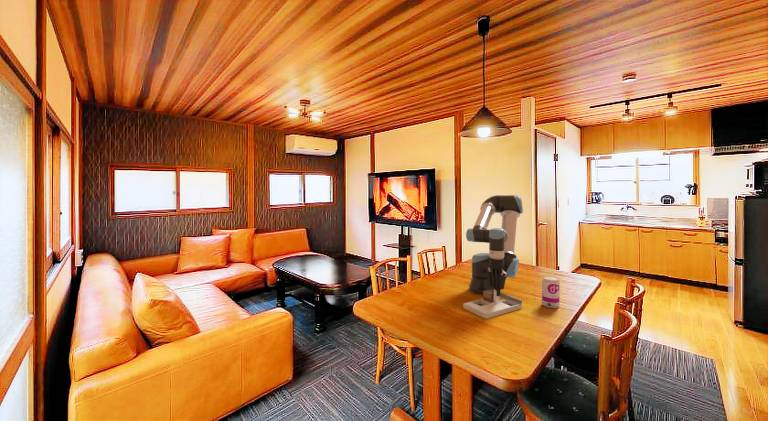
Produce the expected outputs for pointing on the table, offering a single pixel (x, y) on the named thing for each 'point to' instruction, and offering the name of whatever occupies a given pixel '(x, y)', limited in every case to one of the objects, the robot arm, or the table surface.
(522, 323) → the table surface
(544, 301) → the soda can
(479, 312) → the box
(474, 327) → the table surface
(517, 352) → the table surface
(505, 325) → the table surface
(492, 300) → the block
